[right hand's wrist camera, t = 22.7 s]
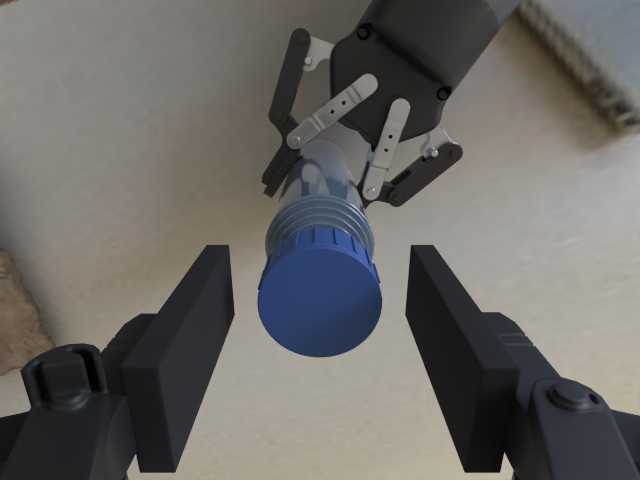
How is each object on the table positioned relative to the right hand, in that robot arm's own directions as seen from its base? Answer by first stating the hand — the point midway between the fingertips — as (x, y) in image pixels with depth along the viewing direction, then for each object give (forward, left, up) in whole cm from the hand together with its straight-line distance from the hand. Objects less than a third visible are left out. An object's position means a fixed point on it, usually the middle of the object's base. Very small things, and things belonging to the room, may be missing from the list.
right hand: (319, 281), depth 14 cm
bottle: (0, 0, -22) cm, 22 cm away
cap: (0, 0, +1) cm, 1 cm away
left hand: (-2, -2, -16) cm, 16 cm away
